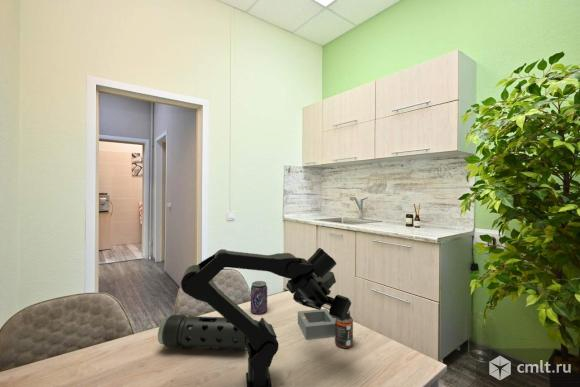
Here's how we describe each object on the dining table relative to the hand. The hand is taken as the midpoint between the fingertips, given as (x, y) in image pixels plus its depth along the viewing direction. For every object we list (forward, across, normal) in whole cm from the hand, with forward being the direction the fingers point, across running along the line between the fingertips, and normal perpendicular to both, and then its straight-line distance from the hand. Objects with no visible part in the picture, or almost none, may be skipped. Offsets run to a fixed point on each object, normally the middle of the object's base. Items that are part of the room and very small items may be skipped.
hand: (331, 313), depth 85 cm
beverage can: (+10, +39, +8) cm, 42 cm away
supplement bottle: (+14, 0, +4) cm, 15 cm away
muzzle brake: (-10, +30, +29) cm, 43 cm away
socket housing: (+15, +13, +3) cm, 20 cm away
